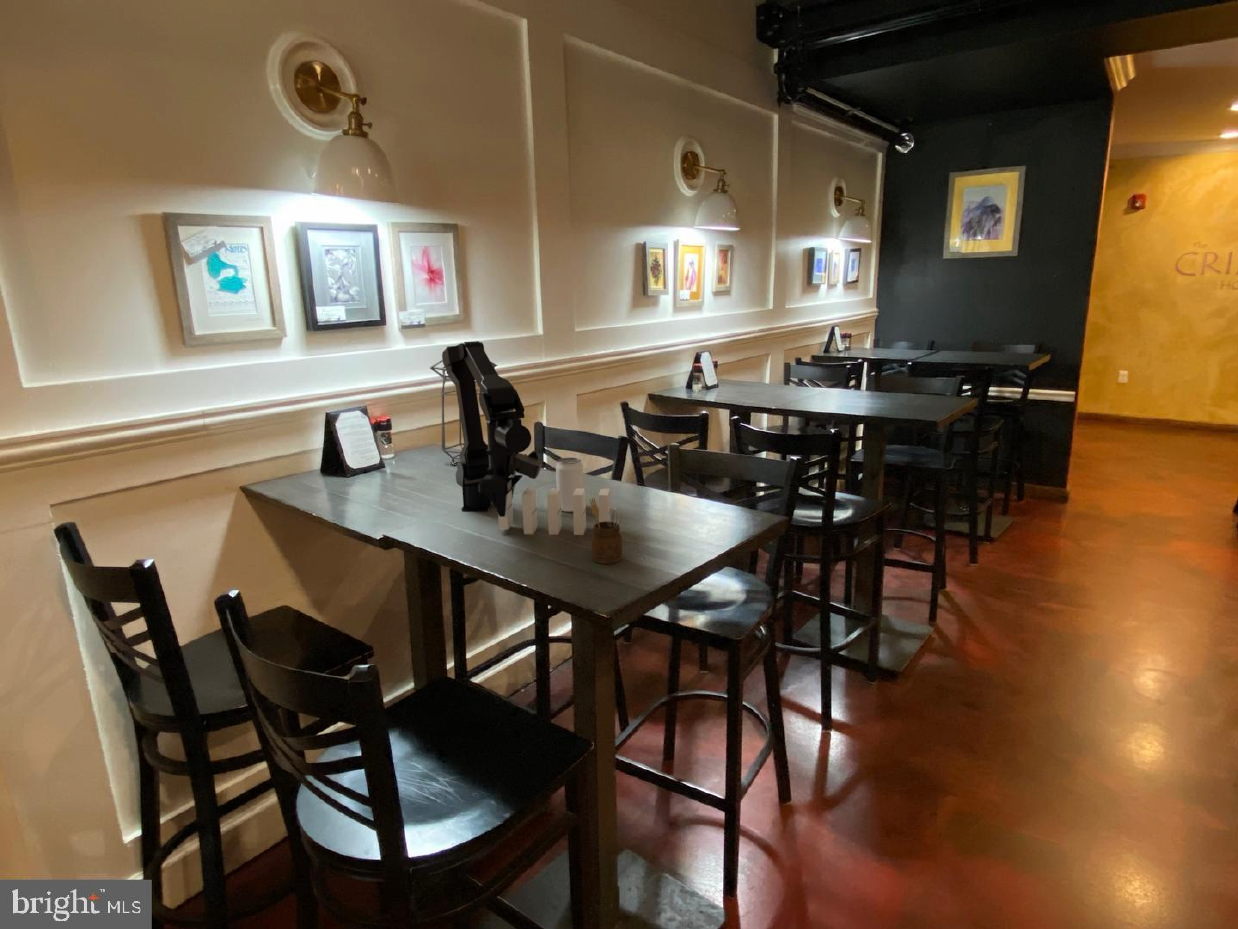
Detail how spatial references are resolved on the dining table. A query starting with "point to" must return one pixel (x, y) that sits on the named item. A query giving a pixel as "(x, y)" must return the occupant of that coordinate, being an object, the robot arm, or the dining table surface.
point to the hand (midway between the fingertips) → (505, 512)
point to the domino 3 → (554, 511)
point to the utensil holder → (606, 539)
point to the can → (569, 480)
